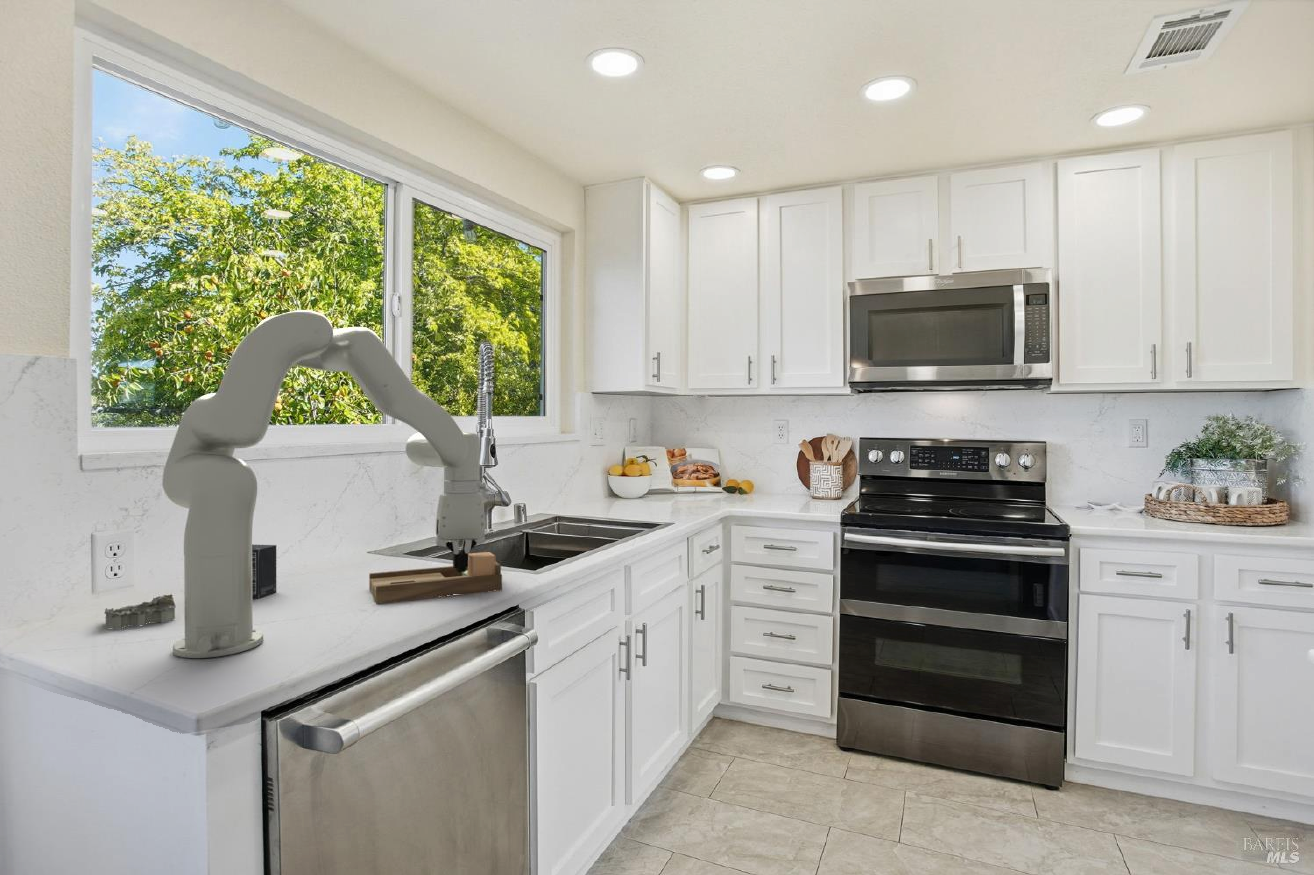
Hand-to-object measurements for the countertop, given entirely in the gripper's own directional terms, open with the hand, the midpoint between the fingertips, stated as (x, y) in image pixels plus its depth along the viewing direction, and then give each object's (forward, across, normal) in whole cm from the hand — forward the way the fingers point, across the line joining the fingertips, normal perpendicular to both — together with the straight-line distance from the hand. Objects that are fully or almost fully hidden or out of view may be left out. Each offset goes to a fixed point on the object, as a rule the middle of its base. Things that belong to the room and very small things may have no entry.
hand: (460, 570), depth 156 cm
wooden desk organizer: (+4, +5, -3) cm, 7 cm away
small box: (+5, +42, -16) cm, 45 cm away
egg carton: (+6, +58, -1) cm, 58 cm away
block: (+2, -5, 0) cm, 5 cm away
